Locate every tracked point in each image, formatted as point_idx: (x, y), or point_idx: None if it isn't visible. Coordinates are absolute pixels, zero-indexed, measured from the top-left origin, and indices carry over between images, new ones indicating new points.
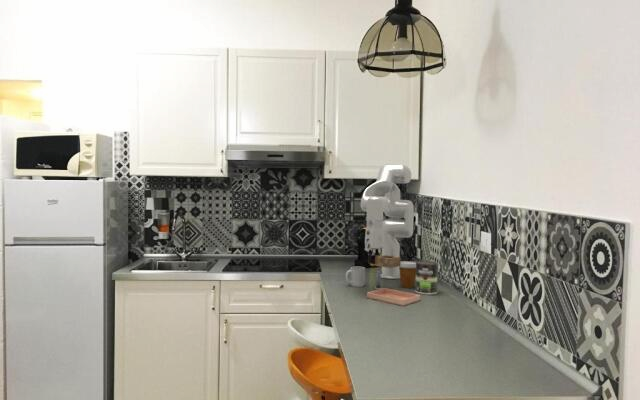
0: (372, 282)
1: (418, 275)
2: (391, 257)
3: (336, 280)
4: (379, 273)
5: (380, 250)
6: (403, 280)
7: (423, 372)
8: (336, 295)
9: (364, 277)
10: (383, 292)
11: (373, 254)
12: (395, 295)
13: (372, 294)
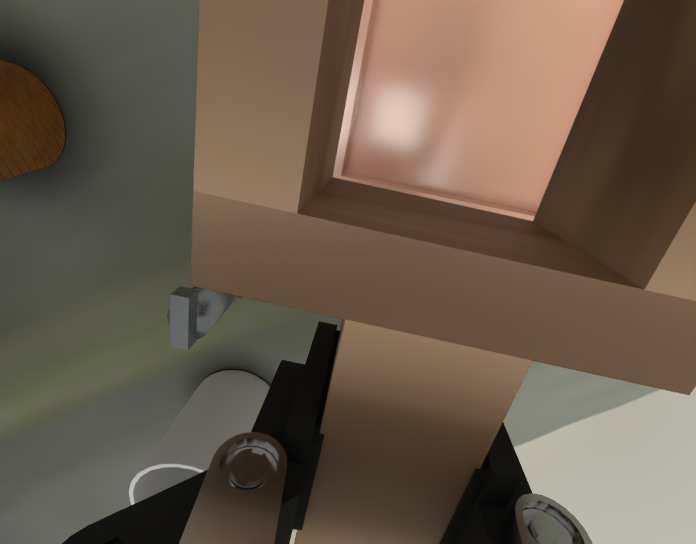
0: (111, 364)
1: None
2: (336, 6)
3: None
4: (194, 309)
5: (189, 535)
6: (20, 132)
7: None
8: (549, 399)
9: (202, 405)
10: (357, 174)
11: (537, 520)
12: (386, 46)
13: None
